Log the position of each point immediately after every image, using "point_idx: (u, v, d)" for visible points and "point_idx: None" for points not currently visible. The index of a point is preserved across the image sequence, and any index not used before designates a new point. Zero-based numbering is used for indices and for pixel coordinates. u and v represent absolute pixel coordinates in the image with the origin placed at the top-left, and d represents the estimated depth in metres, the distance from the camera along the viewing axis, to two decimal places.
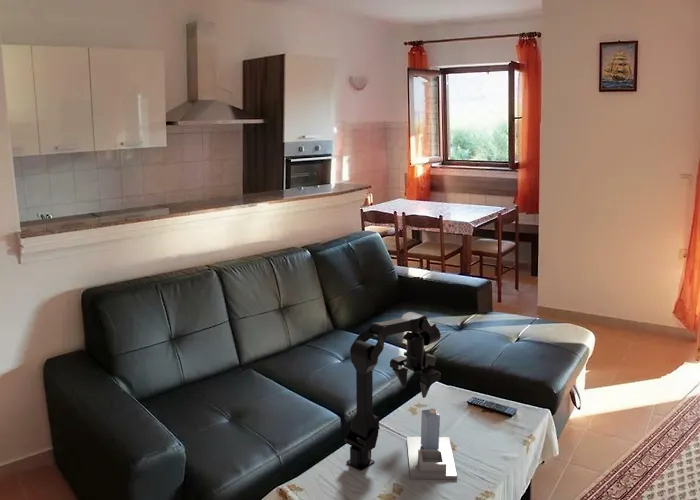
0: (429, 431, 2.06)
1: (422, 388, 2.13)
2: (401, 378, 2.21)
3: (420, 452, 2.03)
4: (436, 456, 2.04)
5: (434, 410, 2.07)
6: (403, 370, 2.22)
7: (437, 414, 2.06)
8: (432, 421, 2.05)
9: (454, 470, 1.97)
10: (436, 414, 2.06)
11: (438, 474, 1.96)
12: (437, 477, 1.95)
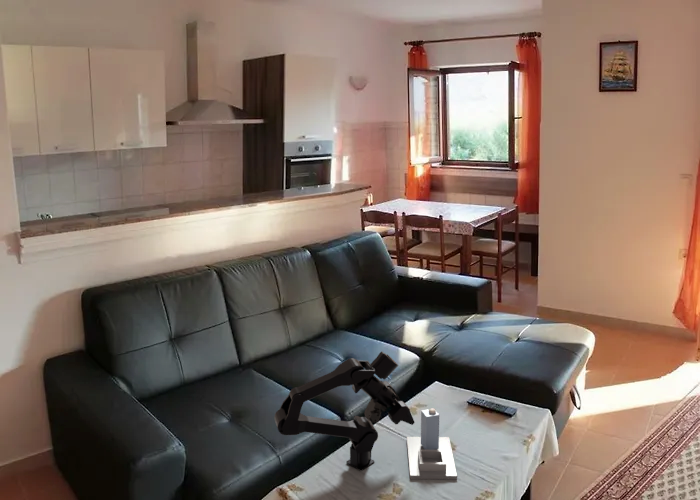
0: (428, 431, 2.06)
1: (397, 396, 2.09)
2: None
3: (420, 452, 2.03)
4: (436, 456, 2.04)
5: (433, 410, 2.07)
6: None
7: (436, 414, 2.06)
8: (432, 421, 2.05)
9: (454, 470, 1.97)
10: (435, 414, 2.06)
11: (438, 474, 1.96)
12: (437, 477, 1.95)
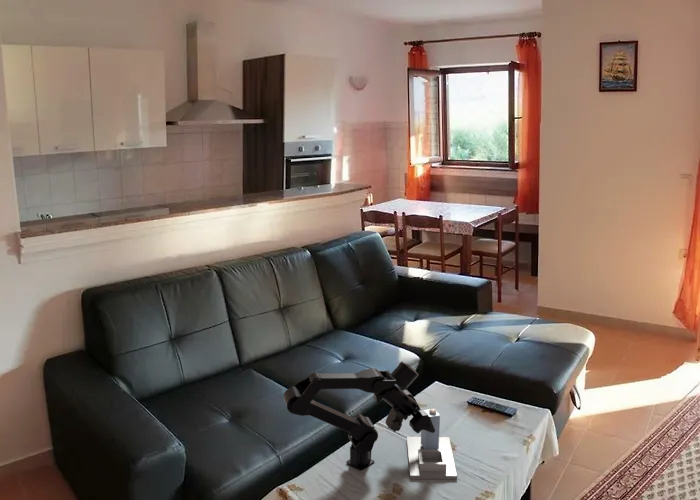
0: None
1: (417, 404, 2.12)
2: None
3: (420, 452, 2.03)
4: (436, 456, 2.04)
5: (434, 410, 2.07)
6: None
7: (437, 414, 2.06)
8: (432, 421, 2.05)
9: (454, 470, 1.97)
10: (436, 414, 2.06)
11: (438, 474, 1.96)
12: (437, 477, 1.95)
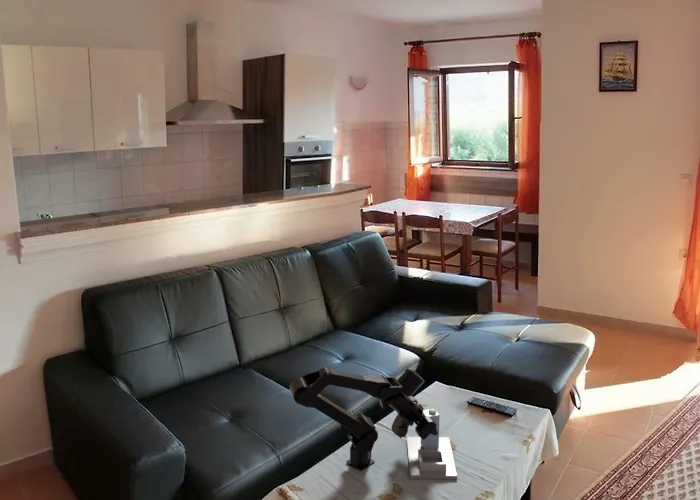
0: None
1: None
2: None
3: (420, 452, 2.03)
4: (436, 456, 2.04)
5: (434, 410, 2.07)
6: None
7: (437, 414, 2.06)
8: None
9: (454, 470, 1.97)
10: (436, 414, 2.06)
11: (438, 474, 1.96)
12: (437, 477, 1.95)
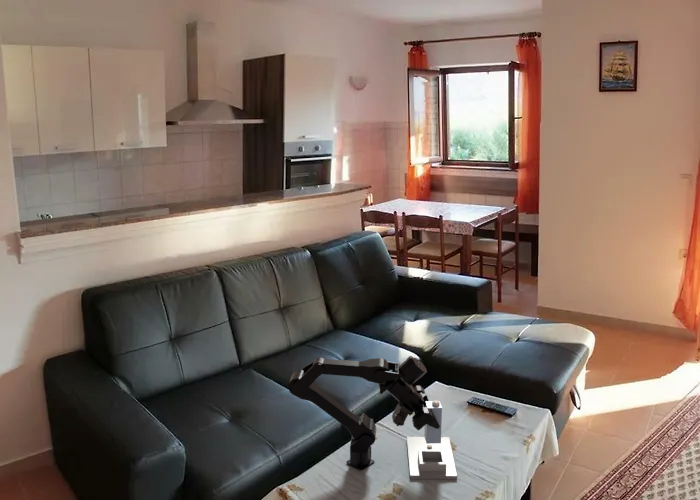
0: None
1: None
2: None
3: (420, 452, 2.03)
4: (436, 456, 2.04)
5: (437, 402, 1.98)
6: None
7: (439, 406, 1.97)
8: None
9: (454, 470, 1.97)
10: (438, 406, 1.97)
11: (438, 474, 1.96)
12: (437, 477, 1.95)
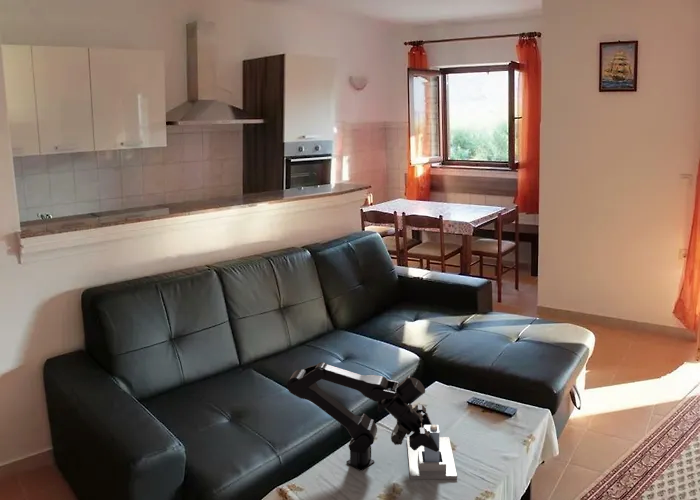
0: (427, 448, 1.97)
1: (430, 423, 2.03)
2: None
3: (420, 452, 2.03)
4: None
5: (435, 426, 1.97)
6: None
7: (437, 431, 1.96)
8: None
9: (454, 470, 1.97)
10: (436, 431, 1.96)
11: (438, 474, 1.96)
12: (437, 477, 1.95)
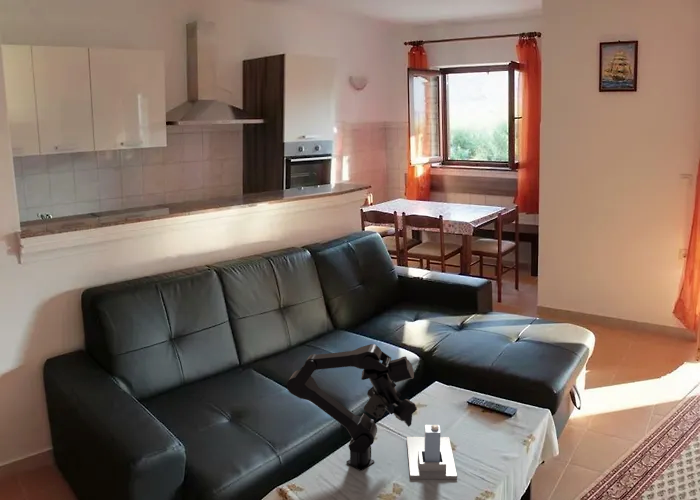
0: (428, 448, 1.97)
1: None
2: None
3: (420, 452, 2.03)
4: None
5: (436, 426, 1.98)
6: None
7: (438, 431, 1.97)
8: (432, 437, 1.97)
9: (454, 470, 1.97)
10: (437, 431, 1.97)
11: (438, 474, 1.96)
12: (437, 477, 1.95)
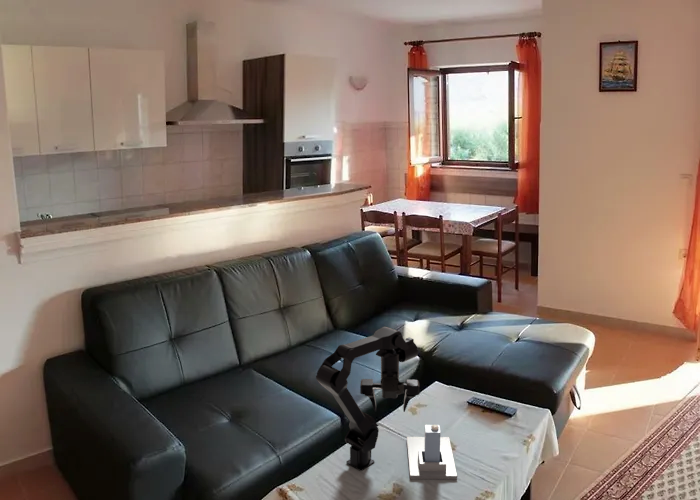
0: (428, 448, 1.97)
1: None
2: (404, 397, 2.10)
3: (420, 452, 2.03)
4: None
5: (436, 426, 1.98)
6: (405, 392, 2.08)
7: (438, 431, 1.97)
8: (432, 437, 1.97)
9: (454, 470, 1.97)
10: (437, 431, 1.97)
11: (438, 474, 1.96)
12: (437, 477, 1.95)
